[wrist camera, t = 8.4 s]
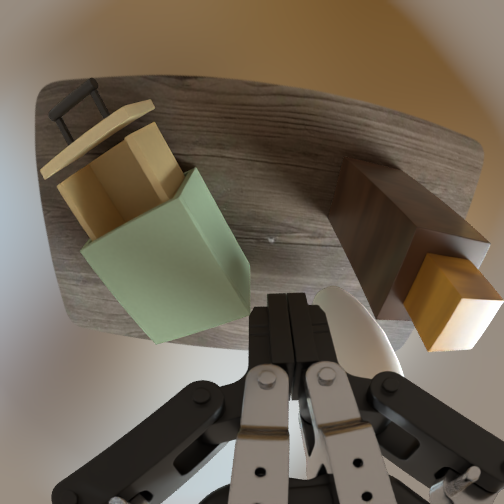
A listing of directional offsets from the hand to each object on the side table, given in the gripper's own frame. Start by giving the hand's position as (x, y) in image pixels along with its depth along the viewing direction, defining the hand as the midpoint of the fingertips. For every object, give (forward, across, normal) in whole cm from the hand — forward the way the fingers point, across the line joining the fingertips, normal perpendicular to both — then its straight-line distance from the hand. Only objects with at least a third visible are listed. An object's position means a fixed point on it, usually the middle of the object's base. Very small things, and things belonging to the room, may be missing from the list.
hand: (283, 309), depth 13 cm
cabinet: (+25, +11, +10) cm, 29 cm away
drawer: (+24, +15, -2) cm, 28 cm away
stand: (+25, -12, +4) cm, 28 cm away
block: (+7, -13, +4) cm, 15 cm away
